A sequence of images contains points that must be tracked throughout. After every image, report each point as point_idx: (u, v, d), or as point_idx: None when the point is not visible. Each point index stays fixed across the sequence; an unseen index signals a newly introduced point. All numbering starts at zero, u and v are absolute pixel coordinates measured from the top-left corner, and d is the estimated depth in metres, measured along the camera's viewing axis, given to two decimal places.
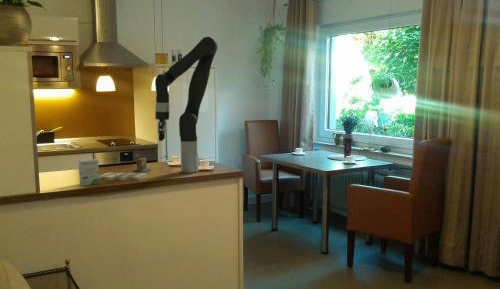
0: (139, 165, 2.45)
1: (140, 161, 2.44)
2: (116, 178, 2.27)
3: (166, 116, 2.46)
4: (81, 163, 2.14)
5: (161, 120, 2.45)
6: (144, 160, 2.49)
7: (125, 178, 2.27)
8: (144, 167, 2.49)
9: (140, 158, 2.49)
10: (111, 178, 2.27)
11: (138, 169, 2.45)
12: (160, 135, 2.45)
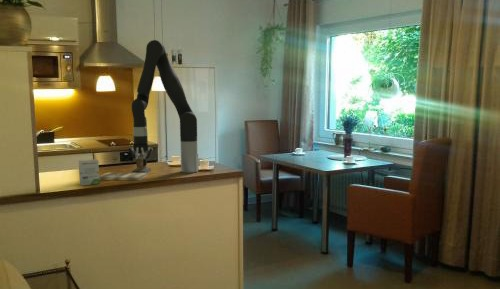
0: (139, 165, 2.45)
1: (140, 161, 2.45)
2: (116, 178, 2.27)
3: None
4: (81, 163, 2.14)
5: (147, 144, 2.47)
6: None
7: (125, 178, 2.27)
8: (144, 167, 2.49)
9: (140, 158, 2.49)
10: (111, 178, 2.27)
11: (138, 169, 2.45)
12: (145, 160, 2.48)
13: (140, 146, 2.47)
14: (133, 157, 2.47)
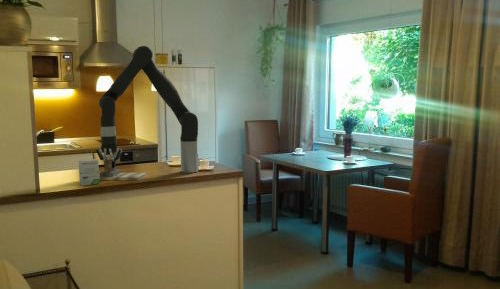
0: (107, 167, 2.29)
1: (108, 162, 2.29)
2: (116, 178, 2.27)
3: None
4: (81, 163, 2.14)
5: None
6: None
7: (125, 178, 2.27)
8: (113, 169, 2.34)
9: (108, 159, 2.34)
10: (111, 178, 2.27)
11: (106, 171, 2.30)
12: (114, 162, 2.33)
13: (108, 147, 2.31)
14: (101, 159, 2.32)
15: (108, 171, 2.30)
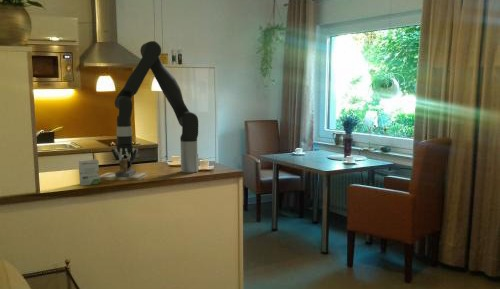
0: (123, 166, 2.29)
1: (124, 162, 2.28)
2: (116, 178, 2.27)
3: None
4: (81, 163, 2.14)
5: (131, 144, 2.31)
6: None
7: (125, 178, 2.27)
8: (128, 169, 2.33)
9: (124, 159, 2.33)
10: (111, 178, 2.27)
11: (121, 171, 2.29)
12: None
13: (124, 147, 2.31)
14: (116, 159, 2.31)
15: (124, 171, 2.29)
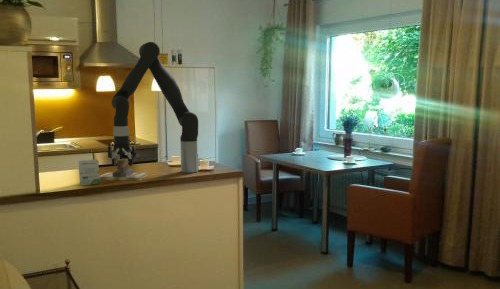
0: (120, 167, 2.29)
1: (121, 162, 2.29)
2: (116, 178, 2.27)
3: None
4: (81, 163, 2.14)
5: (128, 144, 2.32)
6: (125, 161, 2.33)
7: (125, 178, 2.27)
8: (125, 169, 2.33)
9: (121, 159, 2.33)
10: (111, 178, 2.27)
11: (118, 171, 2.29)
12: (132, 160, 2.32)
13: (121, 147, 2.31)
14: (109, 156, 2.32)
15: (121, 171, 2.29)
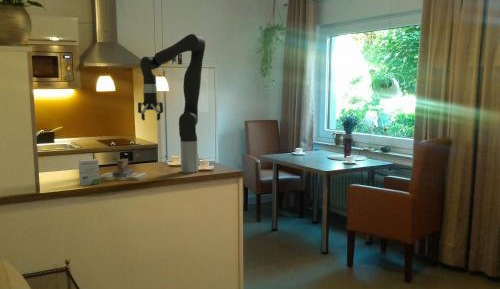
0: (120, 167, 2.29)
1: (121, 162, 2.29)
2: (116, 178, 2.27)
3: None
4: (81, 163, 2.14)
5: (156, 101, 2.58)
6: (125, 161, 2.33)
7: (125, 178, 2.27)
8: (125, 169, 2.33)
9: (121, 159, 2.33)
10: (111, 178, 2.27)
11: (118, 171, 2.29)
12: None
13: (150, 103, 2.58)
14: (139, 112, 2.58)
15: (121, 171, 2.29)
